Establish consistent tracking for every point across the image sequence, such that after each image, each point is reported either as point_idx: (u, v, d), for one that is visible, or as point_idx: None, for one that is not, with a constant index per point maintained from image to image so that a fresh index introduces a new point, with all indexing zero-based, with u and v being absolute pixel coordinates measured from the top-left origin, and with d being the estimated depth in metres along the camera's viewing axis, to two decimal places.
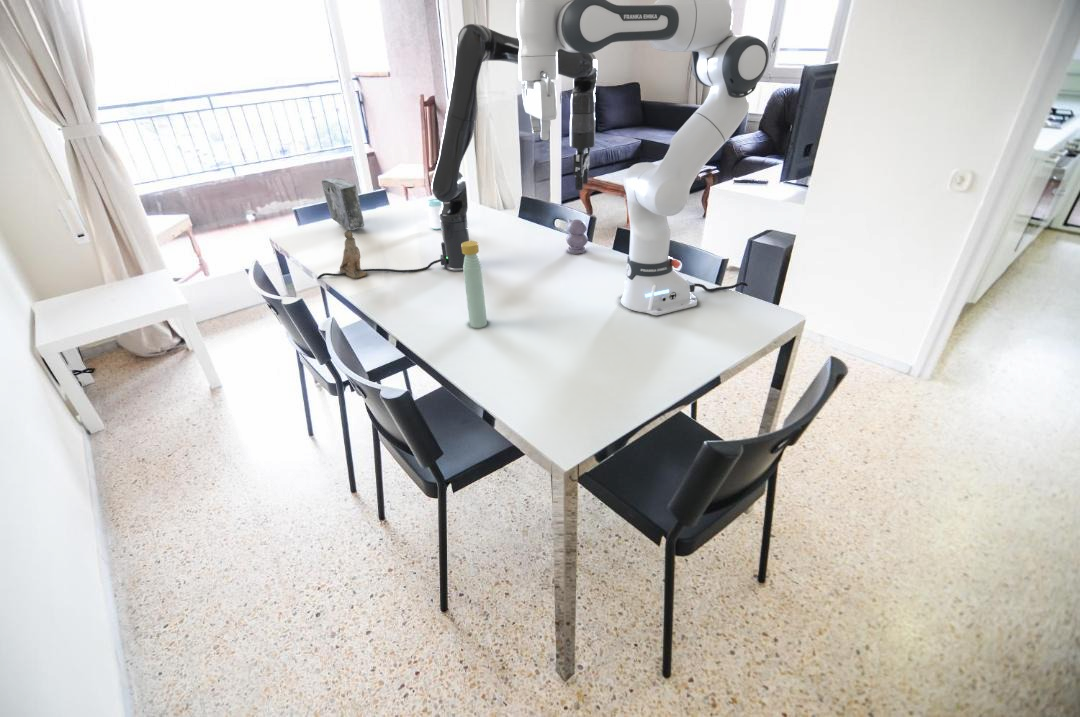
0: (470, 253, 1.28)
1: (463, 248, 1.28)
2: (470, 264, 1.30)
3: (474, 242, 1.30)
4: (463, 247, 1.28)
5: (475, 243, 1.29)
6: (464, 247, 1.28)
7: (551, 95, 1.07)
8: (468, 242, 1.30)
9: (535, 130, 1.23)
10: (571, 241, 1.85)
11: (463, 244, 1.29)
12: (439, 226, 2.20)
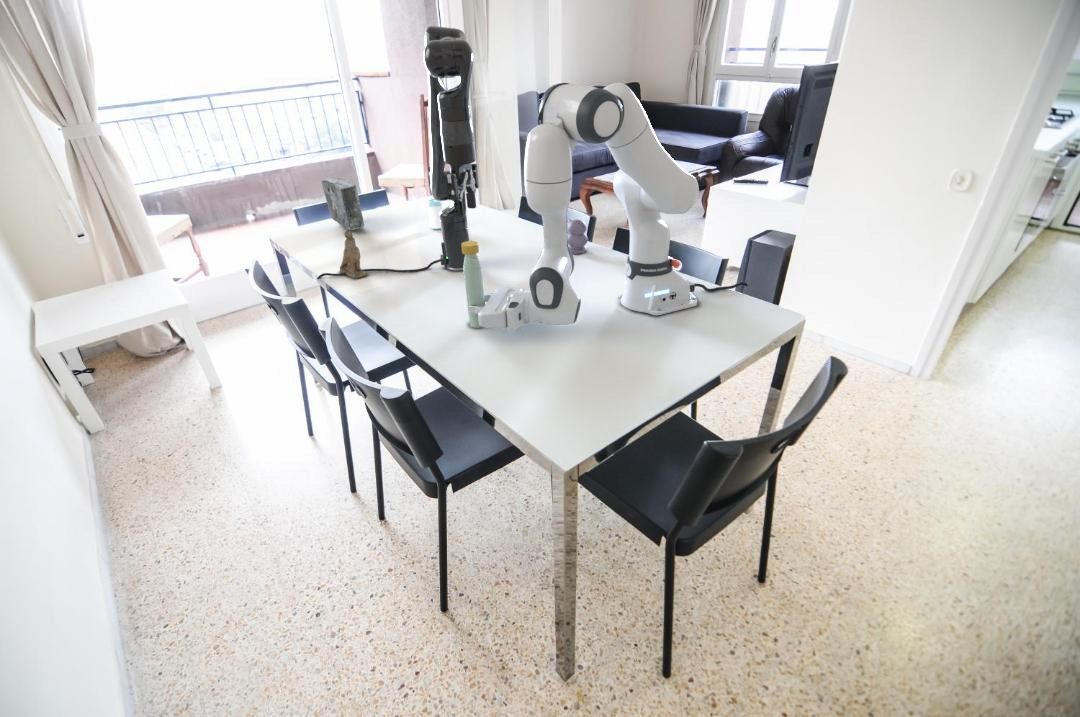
0: (470, 253, 1.28)
1: (463, 248, 1.29)
2: (470, 264, 1.30)
3: (474, 242, 1.30)
4: (463, 247, 1.28)
5: (475, 243, 1.29)
6: (464, 247, 1.28)
7: None
8: (468, 242, 1.30)
9: None
10: (571, 241, 1.85)
11: (463, 244, 1.29)
12: (439, 226, 2.20)
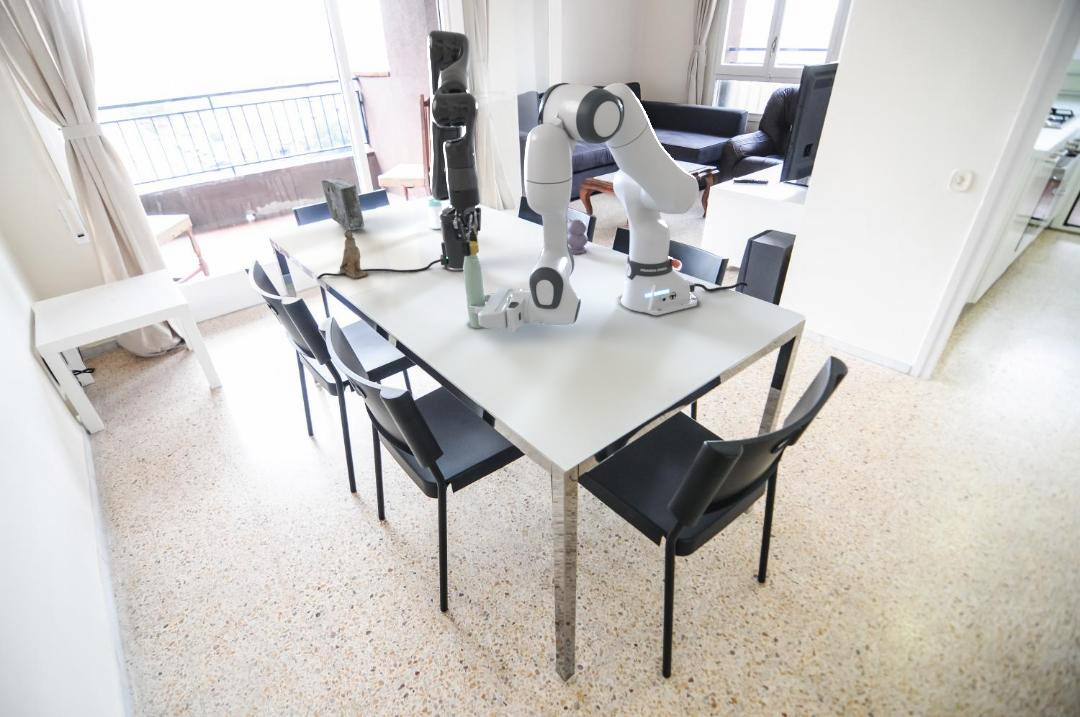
0: None
1: None
2: (470, 264, 1.30)
3: (474, 242, 1.30)
4: None
5: (475, 243, 1.29)
6: None
7: None
8: None
9: None
10: (571, 241, 1.85)
11: None
12: (439, 226, 2.20)
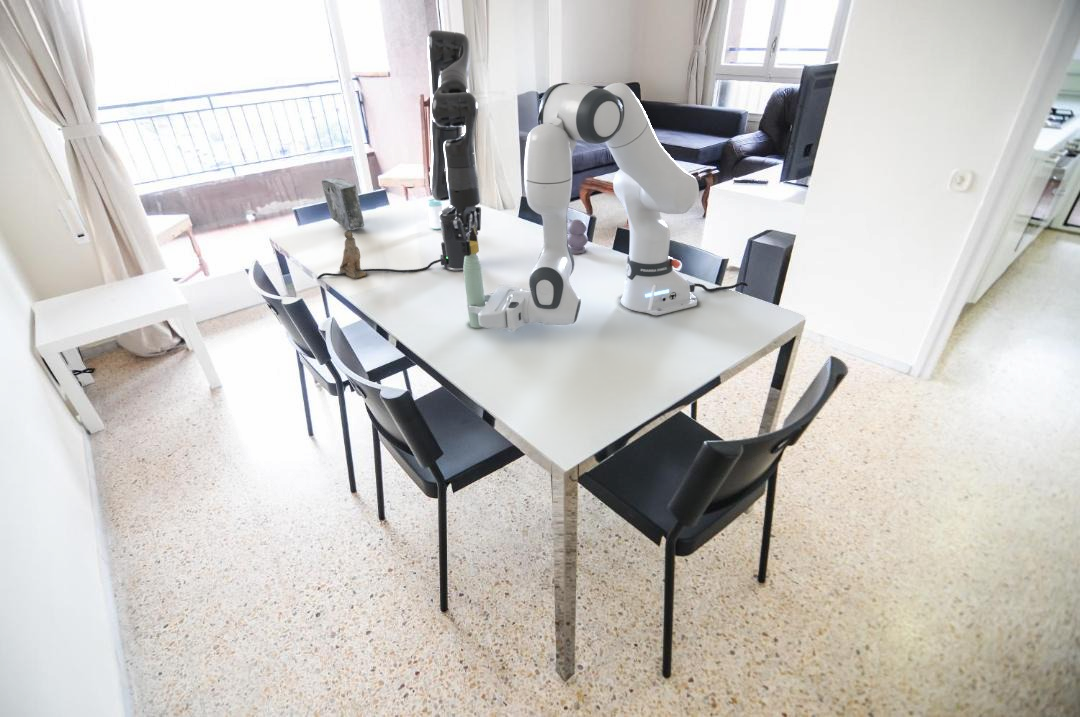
0: (478, 249, 1.31)
1: (475, 248, 1.28)
2: (470, 264, 1.30)
3: None
4: (475, 247, 1.28)
5: (470, 241, 1.30)
6: (476, 245, 1.29)
7: None
8: None
9: None
10: (571, 241, 1.85)
11: (471, 244, 1.28)
12: (439, 226, 2.20)
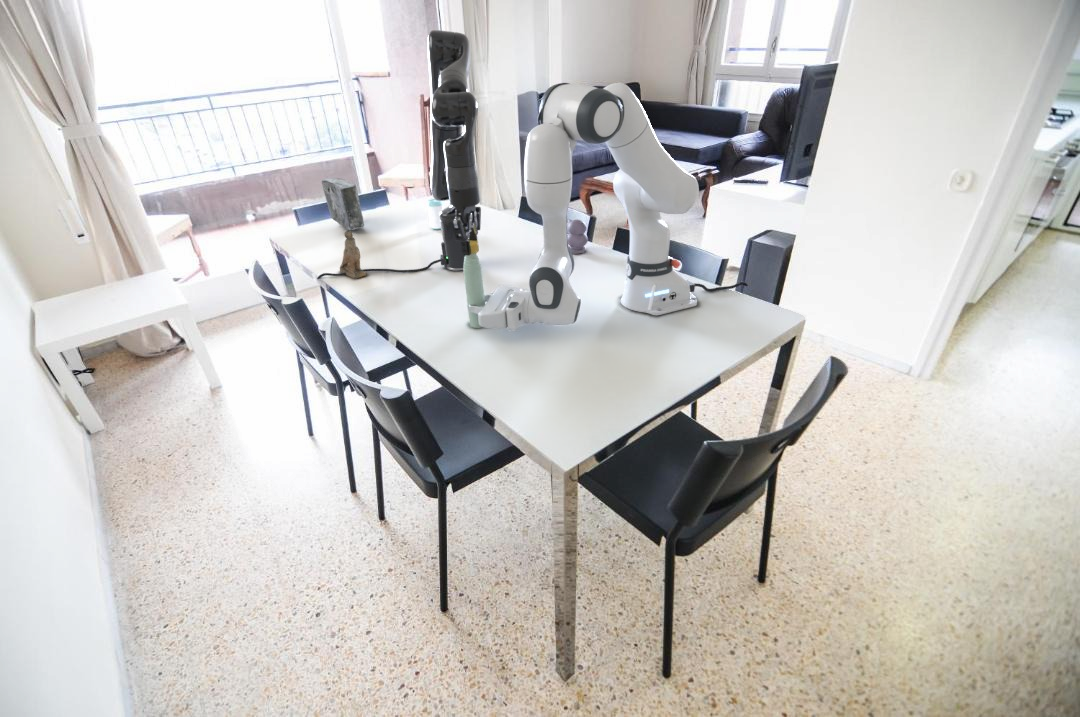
0: None
1: None
2: (470, 264, 1.30)
3: None
4: None
5: None
6: None
7: None
8: (471, 243, 1.28)
9: None
10: (571, 241, 1.85)
11: (475, 241, 1.30)
12: (439, 226, 2.20)
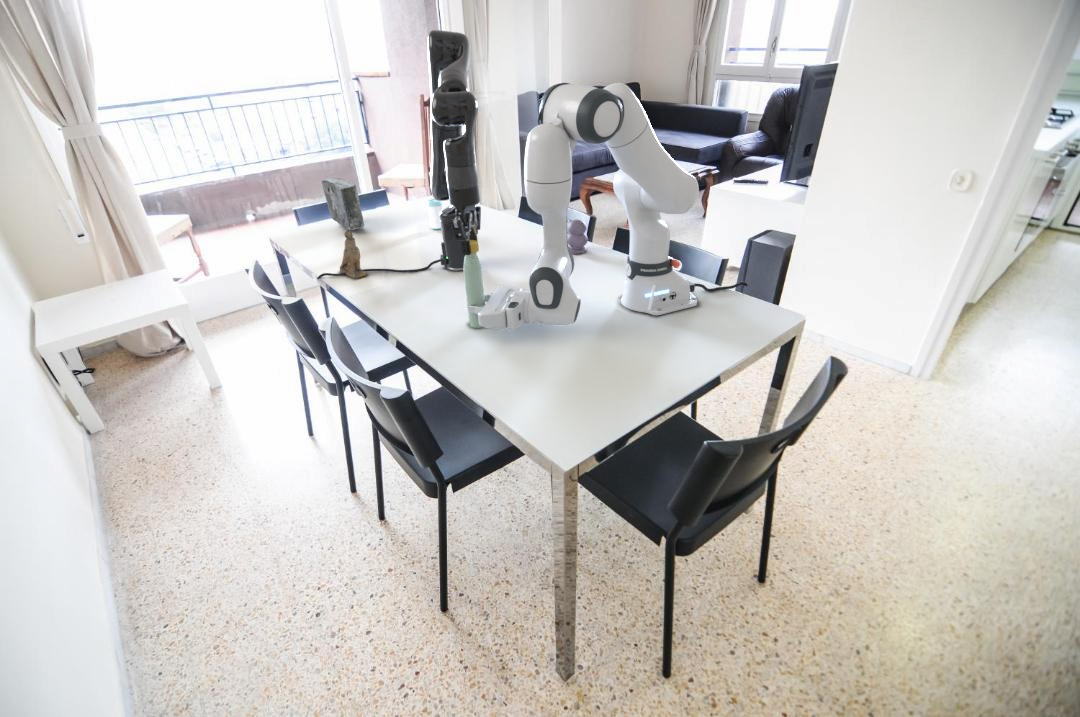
0: None
1: None
2: (470, 264, 1.30)
3: (473, 243, 1.28)
4: None
5: (470, 244, 1.28)
6: None
7: None
8: (472, 241, 1.30)
9: None
10: (571, 241, 1.85)
11: None
12: (439, 226, 2.20)
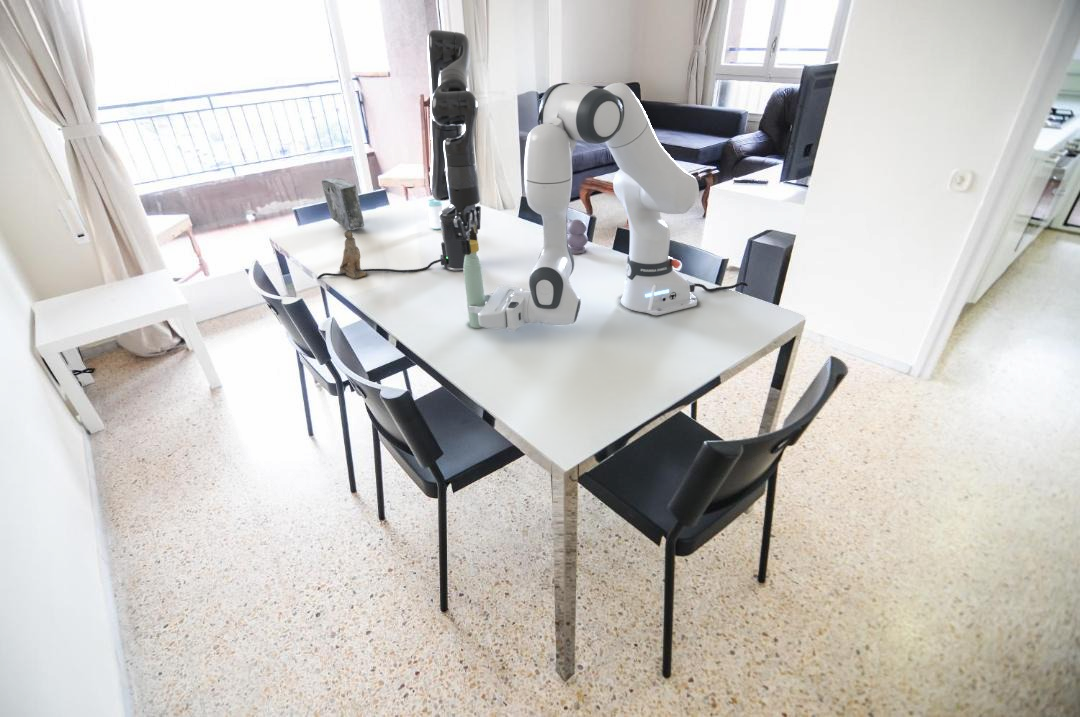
0: (473, 251, 1.28)
1: None
2: (470, 264, 1.30)
3: (473, 240, 1.30)
4: None
5: (475, 241, 1.29)
6: None
7: None
8: None
9: None
10: (571, 241, 1.85)
11: None
12: (439, 226, 2.20)
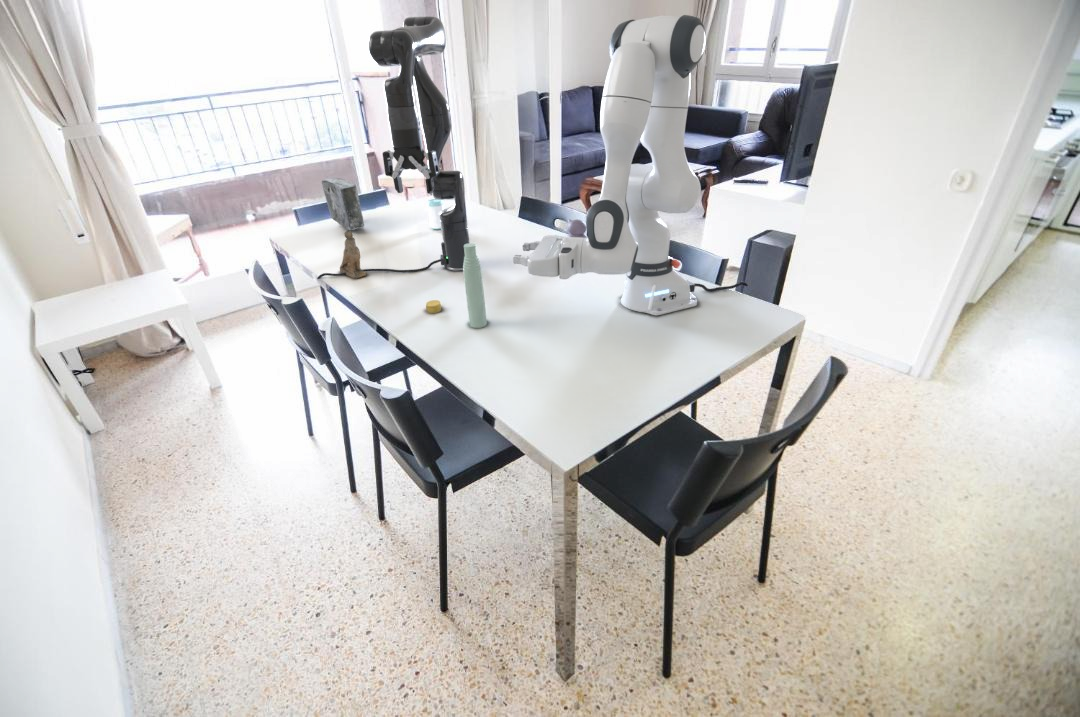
0: None
1: (439, 307, 1.49)
2: (470, 264, 1.30)
3: (429, 302, 1.50)
4: (439, 306, 1.49)
5: (432, 301, 1.51)
6: (439, 304, 1.49)
7: None
8: (430, 304, 1.49)
9: None
10: None
11: (436, 304, 1.48)
12: (439, 226, 2.20)
